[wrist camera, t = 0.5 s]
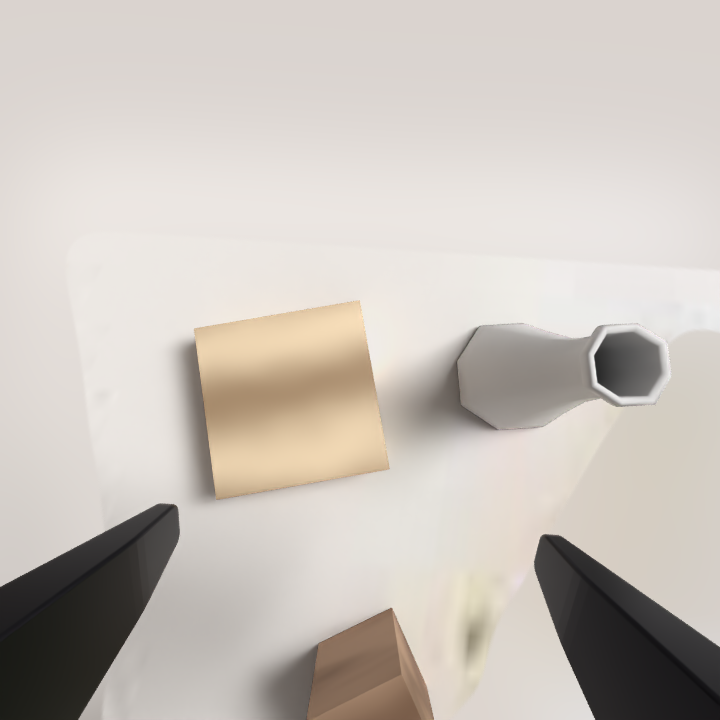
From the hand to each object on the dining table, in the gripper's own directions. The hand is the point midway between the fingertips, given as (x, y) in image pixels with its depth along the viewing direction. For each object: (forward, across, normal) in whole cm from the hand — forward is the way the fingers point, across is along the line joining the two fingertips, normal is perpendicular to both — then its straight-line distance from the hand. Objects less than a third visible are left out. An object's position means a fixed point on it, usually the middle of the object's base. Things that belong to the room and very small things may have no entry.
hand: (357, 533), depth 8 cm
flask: (+15, -10, 0) cm, 18 cm away
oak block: (+14, +4, +2) cm, 15 cm away
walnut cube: (+8, -2, +17) cm, 19 cm away
